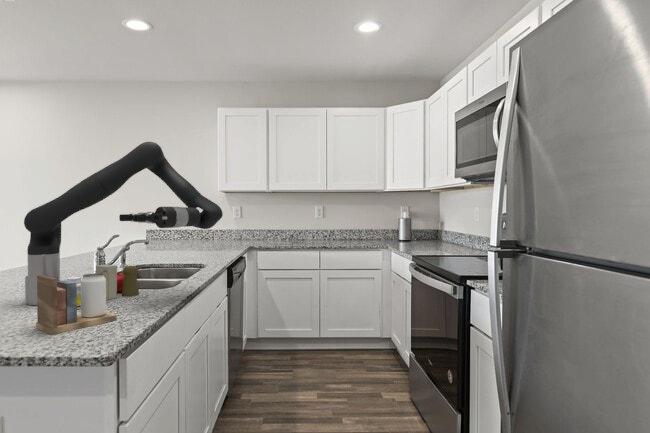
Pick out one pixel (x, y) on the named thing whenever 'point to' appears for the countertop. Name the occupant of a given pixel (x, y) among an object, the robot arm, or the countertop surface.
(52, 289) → the wooden bookend
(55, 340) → the countertop surface
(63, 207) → the robot arm
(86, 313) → the can
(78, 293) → the supplement bottle
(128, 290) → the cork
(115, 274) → the skincare box
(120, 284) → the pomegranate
